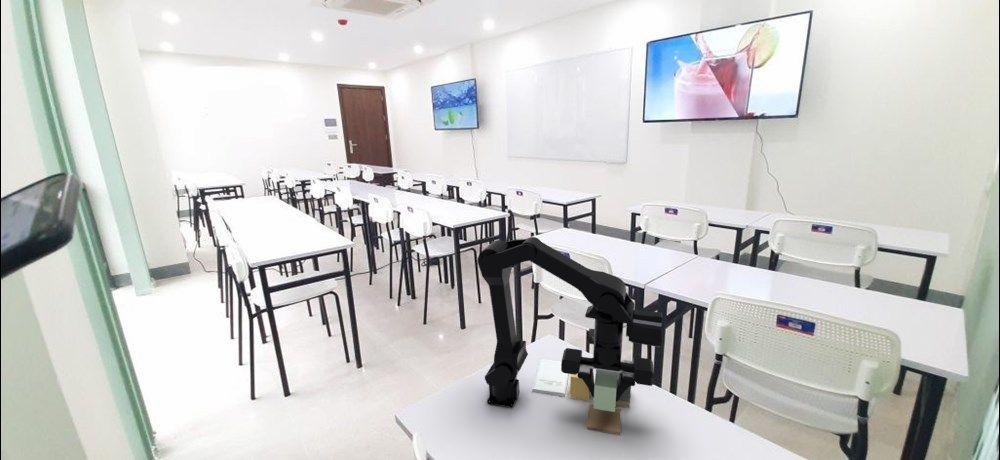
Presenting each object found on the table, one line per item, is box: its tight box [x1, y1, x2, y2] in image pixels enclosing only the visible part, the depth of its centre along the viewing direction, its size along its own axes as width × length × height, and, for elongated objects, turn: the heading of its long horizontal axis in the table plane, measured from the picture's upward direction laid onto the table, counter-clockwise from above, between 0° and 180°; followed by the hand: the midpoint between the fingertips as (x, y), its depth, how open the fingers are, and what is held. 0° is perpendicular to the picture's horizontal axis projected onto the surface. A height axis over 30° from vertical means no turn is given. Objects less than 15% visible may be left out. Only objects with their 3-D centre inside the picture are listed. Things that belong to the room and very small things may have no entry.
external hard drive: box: [531, 358, 570, 398], centre depth 106 cm, size 2×8×12 cm
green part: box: [593, 371, 617, 412], centre depth 89 cm, size 4×4×6 cm
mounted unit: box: [595, 369, 632, 408], centre depth 97 cm, size 8×5×7 cm, turn 74°
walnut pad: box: [586, 404, 622, 436], centre depth 91 cm, size 7×7×1 cm
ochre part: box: [569, 373, 591, 401], centre depth 99 cm, size 4×4×6 cm
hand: (604, 398), depth 89 cm, fingers closed on green part, 4 cm apart
